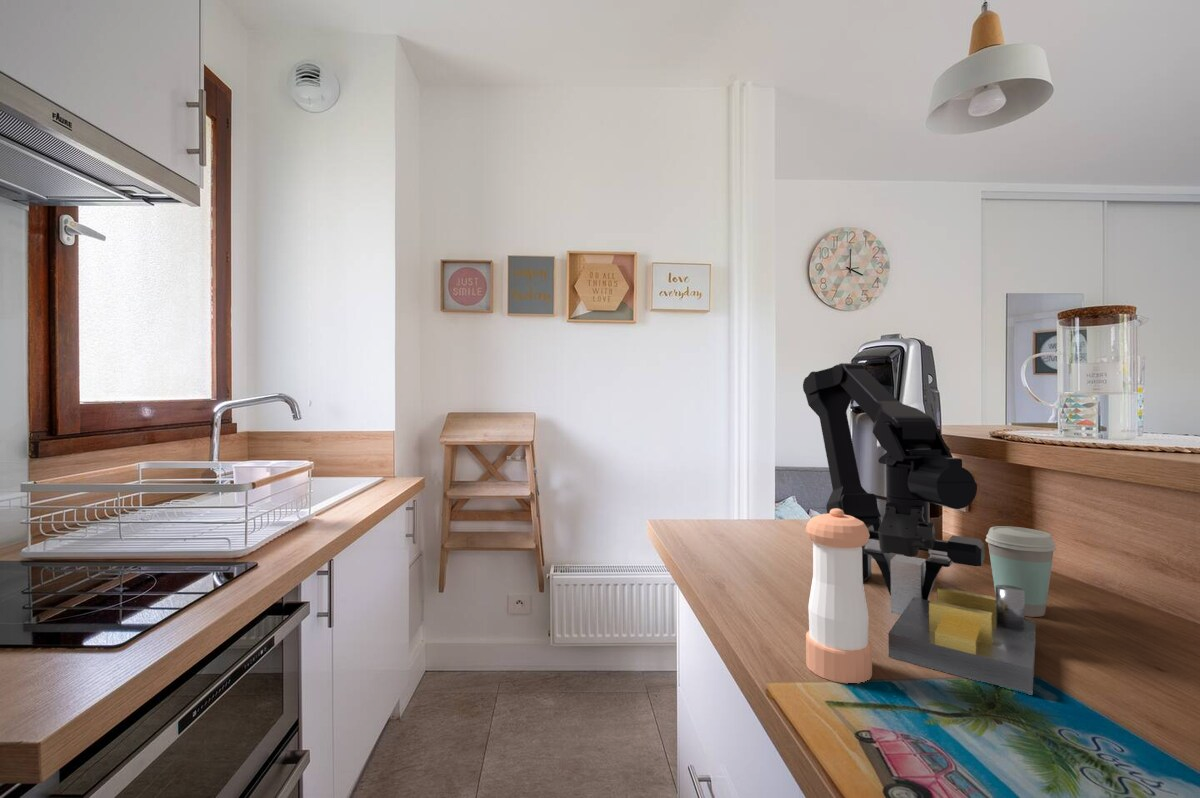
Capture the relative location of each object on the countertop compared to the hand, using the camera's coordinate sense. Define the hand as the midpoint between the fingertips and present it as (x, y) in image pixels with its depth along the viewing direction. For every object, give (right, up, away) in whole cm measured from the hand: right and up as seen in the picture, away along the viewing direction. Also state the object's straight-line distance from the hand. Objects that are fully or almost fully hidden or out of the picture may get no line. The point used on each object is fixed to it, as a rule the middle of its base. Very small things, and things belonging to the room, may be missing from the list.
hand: (908, 598), depth 81 cm
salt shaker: (-19, -2, -17) cm, 25 cm away
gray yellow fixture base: (0, -2, -13) cm, 13 cm away
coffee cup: (+18, -2, +1) cm, 18 cm away
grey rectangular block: (0, -2, 0) cm, 2 cm away
